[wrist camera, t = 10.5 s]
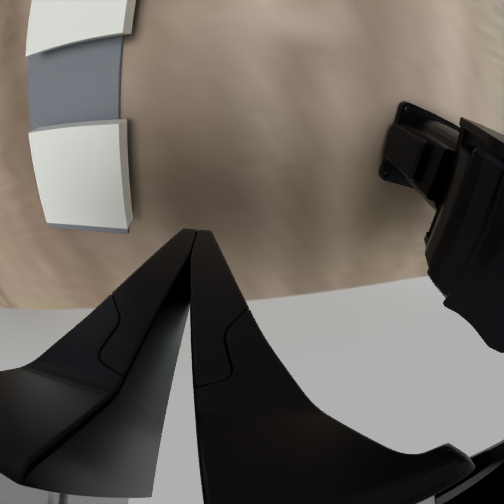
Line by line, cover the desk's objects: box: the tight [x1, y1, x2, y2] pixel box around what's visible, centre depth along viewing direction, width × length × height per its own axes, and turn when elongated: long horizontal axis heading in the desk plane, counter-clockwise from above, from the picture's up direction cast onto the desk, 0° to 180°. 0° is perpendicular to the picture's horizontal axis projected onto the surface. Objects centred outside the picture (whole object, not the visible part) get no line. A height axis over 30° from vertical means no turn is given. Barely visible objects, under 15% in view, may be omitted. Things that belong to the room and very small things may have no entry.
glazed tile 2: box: [29, 119, 133, 229], centre depth 17 cm, size 2×8×8 cm
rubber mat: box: [28, 35, 129, 234], centre depth 13 cm, size 9×27×1 cm, turn 172°
